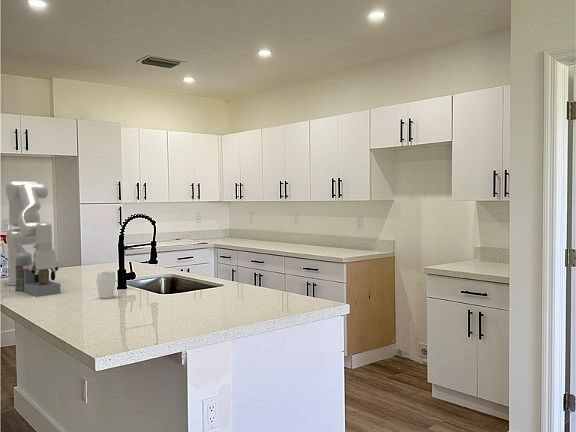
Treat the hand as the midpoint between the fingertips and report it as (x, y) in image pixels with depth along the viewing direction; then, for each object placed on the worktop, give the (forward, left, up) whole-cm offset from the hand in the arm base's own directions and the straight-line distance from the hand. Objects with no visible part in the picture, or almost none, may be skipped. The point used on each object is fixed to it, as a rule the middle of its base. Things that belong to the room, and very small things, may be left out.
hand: (44, 280), depth 265 cm
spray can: (-20, -3, -7) cm, 21 cm away
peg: (0, 0, -7) cm, 7 cm away
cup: (+32, +17, -7) cm, 37 cm away
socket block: (-3, 0, -7) cm, 8 cm away
